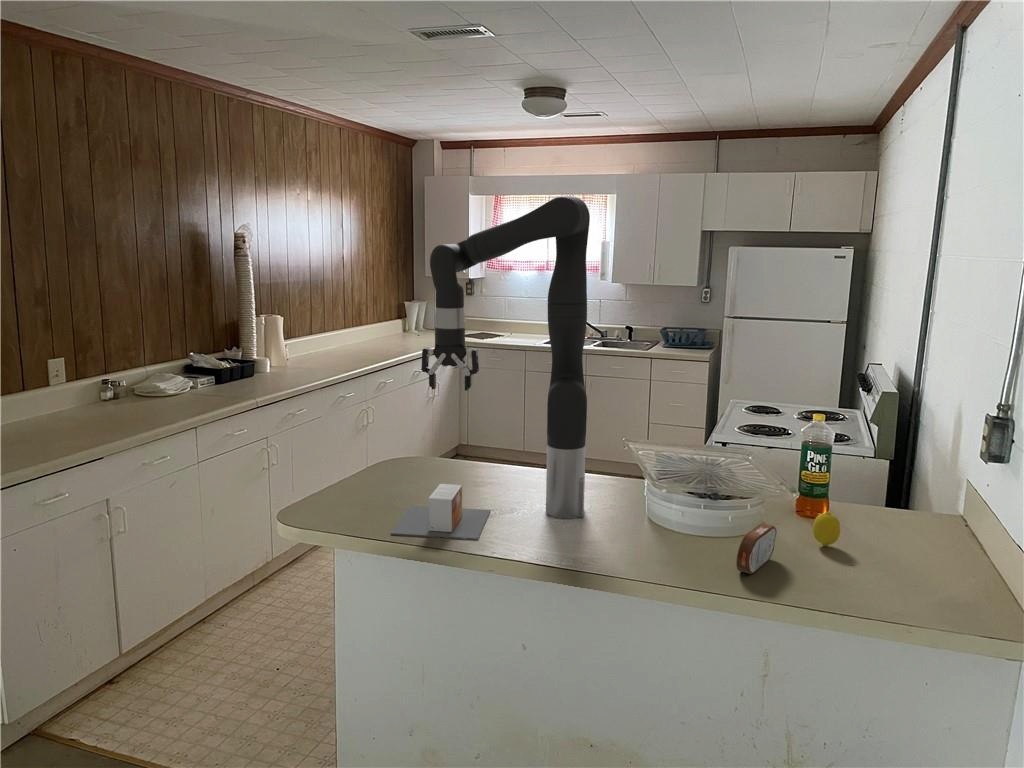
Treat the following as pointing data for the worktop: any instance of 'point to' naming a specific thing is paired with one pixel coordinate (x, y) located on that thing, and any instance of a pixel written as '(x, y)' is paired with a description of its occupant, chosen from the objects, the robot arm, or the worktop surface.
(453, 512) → the small box
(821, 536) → the lemon
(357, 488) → the worktop surface
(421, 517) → the mat
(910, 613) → the worktop surface
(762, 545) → the tin
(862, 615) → the worktop surface
